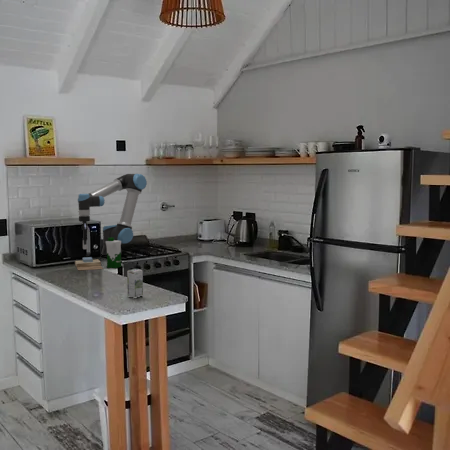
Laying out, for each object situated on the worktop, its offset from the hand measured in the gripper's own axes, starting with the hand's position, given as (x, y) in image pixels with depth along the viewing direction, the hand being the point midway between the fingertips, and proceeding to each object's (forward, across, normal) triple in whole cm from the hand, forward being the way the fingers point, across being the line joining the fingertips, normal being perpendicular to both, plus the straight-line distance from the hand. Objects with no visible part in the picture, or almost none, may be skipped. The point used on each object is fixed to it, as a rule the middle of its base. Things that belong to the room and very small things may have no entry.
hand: (85, 248), depth 384 cm
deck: (+10, +12, 0) cm, 15 cm away
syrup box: (+11, +114, +14) cm, 115 cm away
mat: (+10, +23, 0) cm, 25 cm away
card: (+7, +11, 0) cm, 13 cm away
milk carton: (+10, +25, +16) cm, 31 cm away
